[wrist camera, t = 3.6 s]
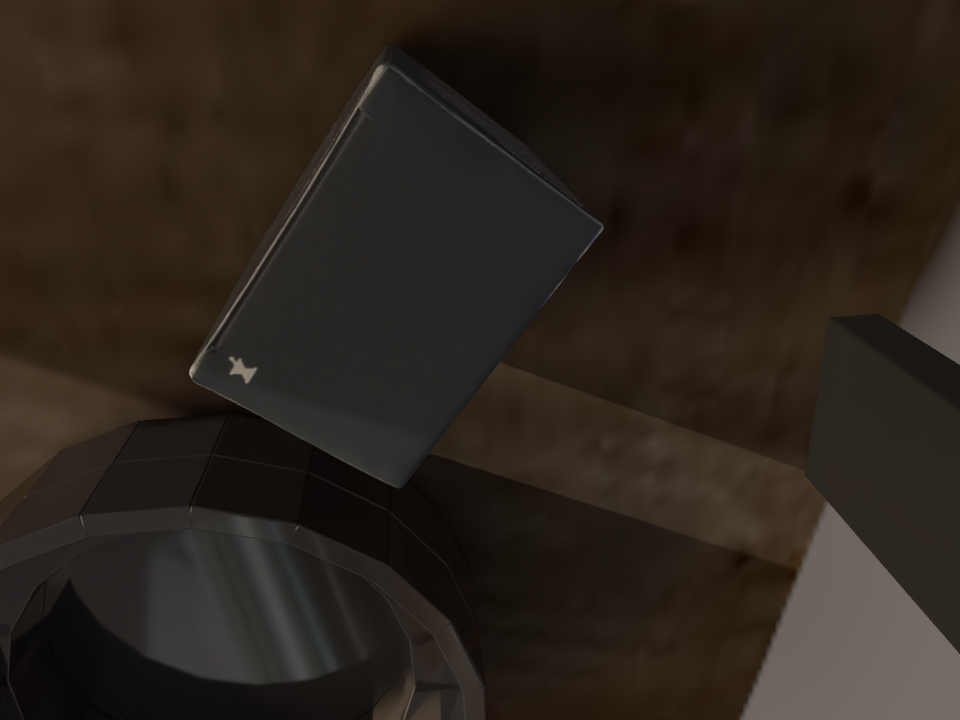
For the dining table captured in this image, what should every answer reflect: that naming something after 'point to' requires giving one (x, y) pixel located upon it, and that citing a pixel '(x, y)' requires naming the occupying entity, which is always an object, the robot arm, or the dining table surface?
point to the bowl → (229, 585)
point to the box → (394, 274)
